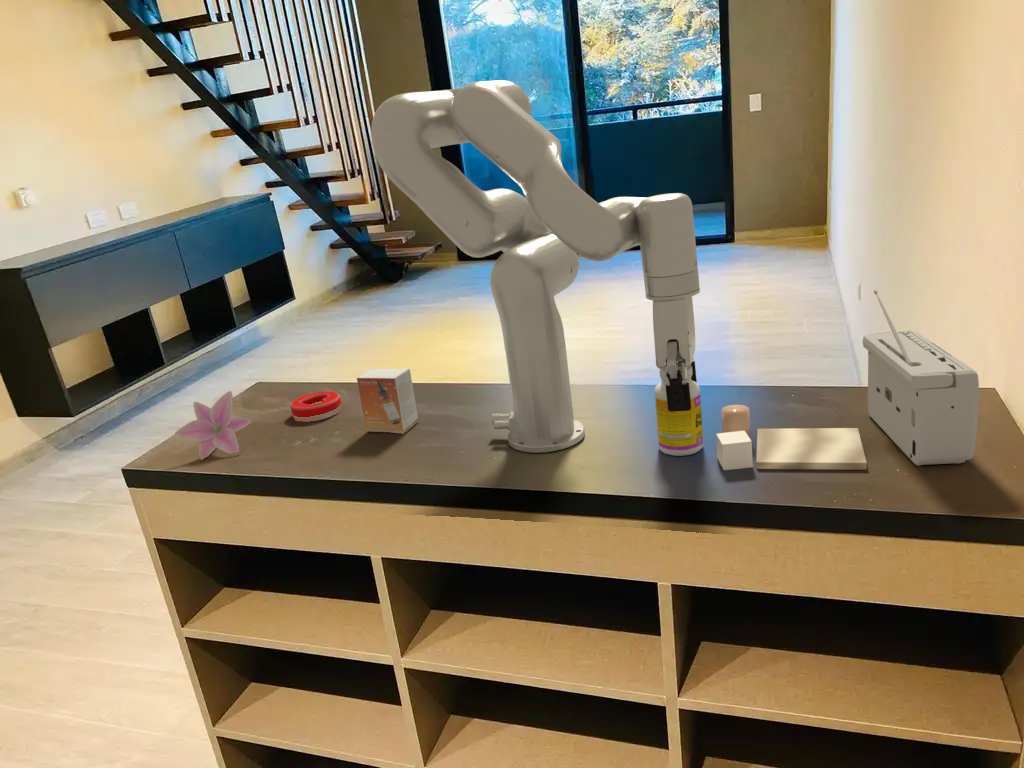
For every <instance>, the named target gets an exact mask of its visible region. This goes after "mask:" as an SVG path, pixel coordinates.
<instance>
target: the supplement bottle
mask: <svg viewBox="0 0 1024 768" xmlns="http://www.w3.org/2000/svg"><path fill="white" fill-rule="evenodd" d="M678 370H680V371H681V372H682V369H678ZM692 374H693V372H692V366H691V365H690V366H688V367H687V383H689V388H690V399H691V410H689V411H672V412H671V411H669V410H668V404H667V395H666V386H665V385H666V363H665V365H664V367H662V368H661V369H659V377H660V379H661V381H660V382H658V383H657V385H656V386H655V388H654V391H653V393H654V405H655V417H656V418H655V420H656V433H657V434H656V435H657V445H658V449H659V450H660V452H661V453H663V454H666V455H668V456H669V455H670V456H680V457H681V456H683V457H684V456H689V455H693V454H696V453H699V451H701V449H703V447H704V437H703V436H704V434H703V417H702V416H703V415H702V399H701V387H700V385H699V384H698V383H696V382H695V381H693V380H691V377H692ZM681 375H682V373H681Z"/></svg>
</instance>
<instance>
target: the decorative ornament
mask: <svg viewBox="0 0 1024 768" xmlns="http://www.w3.org/2000/svg"><path fill="white" fill-rule="evenodd" d="M319 401H322V403H319V404H314V405H310V404H312V403H315V402H319ZM341 403H342V399H341V395H340V393H338V392H336V391H330V390H328V391H327V390H326V391H317V392H312V393H308V394H305V395H302V396H300V397H298V398H296V399H294V400H293V401H292V402H291V403H290V410H291V415H292V414H293V415H294V416H297V417H310V416H315V415H320V414H324V413H327V412H329V411H332V410H334V409H336V408H337V407H338V406H339V405H340V404H341ZM293 415H292V416H293Z"/></svg>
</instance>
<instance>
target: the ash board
mask: <svg viewBox="0 0 1024 768" xmlns="http://www.w3.org/2000/svg"><path fill="white" fill-rule="evenodd" d="M756 437H757V438H756V439H757V440H756V460H755V461H756V469H757V470H839V471H840V470H842V471H843V470H846V471H847V470H849V471H851V470H854V471H855V470H857V471H861V470H862V471H865V470H868V468H867V467H868V466H867V458H866V455H865V451H864V447H863V443H862V439H861V436H860V432H859V428H858V427H818V428H817V427H815V428H811V427H810V428H809V427H808V428H807V427H806V428H799V427H798V428H794V427H793V428H787V427H785V428H784V427H783V428H757V435H756Z"/></svg>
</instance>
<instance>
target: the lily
mask: <svg viewBox="0 0 1024 768" xmlns="http://www.w3.org/2000/svg"><path fill="white" fill-rule="evenodd" d="M233 397H234V396H233V392H232V391H231V390H230V391H227V392H225V393H224V394H223V395H222V396H220V398H219V399H218V400H216V402H215V403H214V404H213V405H212V407H209V406H207V405H205V404H203V403H201V402H198V401H193V409H194V415H195V417H196V419H193V420H192V421H190V422H188V423H187V424H185V425H183V426H181V427H180V428H178V430H176V431H175V433H174V434H173V435H174V437H176V438H178V439H179V438H180V439H184V440H188V441H189V440H190V441H194V442H199V447H198V452H199V453H198V456H203V455H208V456H209V455H210V454H212V453H213V451H214V450H215V449H216V448H217V449H219V450H221V451H223V452H225V453H227V454H229V455H231V453H237V452H240V446H239V443H238V442H239V441H238V438H237V435H236V432H238V431H240V430H242V429H243V428H245V427H247V426H248V425H250V424H251V423H252V422H253V421H252V419H251V418H247V417H244V416H243V417H242V416H235V415H233V414H234V413H233V412H234V411H233V409H234V408H233V407H234V405H233V404H234V400H233V399H234V398H233Z"/></svg>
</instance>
